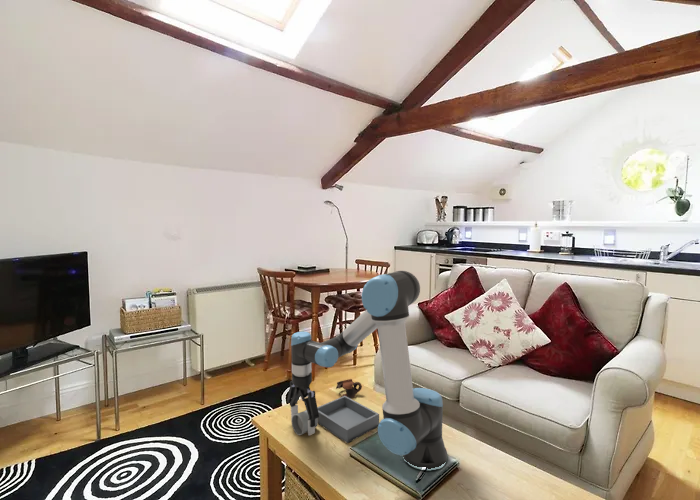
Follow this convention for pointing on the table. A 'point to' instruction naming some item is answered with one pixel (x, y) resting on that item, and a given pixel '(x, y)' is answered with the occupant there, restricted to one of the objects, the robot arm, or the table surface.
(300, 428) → the ceramic mug
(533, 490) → the table surface
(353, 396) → the brown clay vessel
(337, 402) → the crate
